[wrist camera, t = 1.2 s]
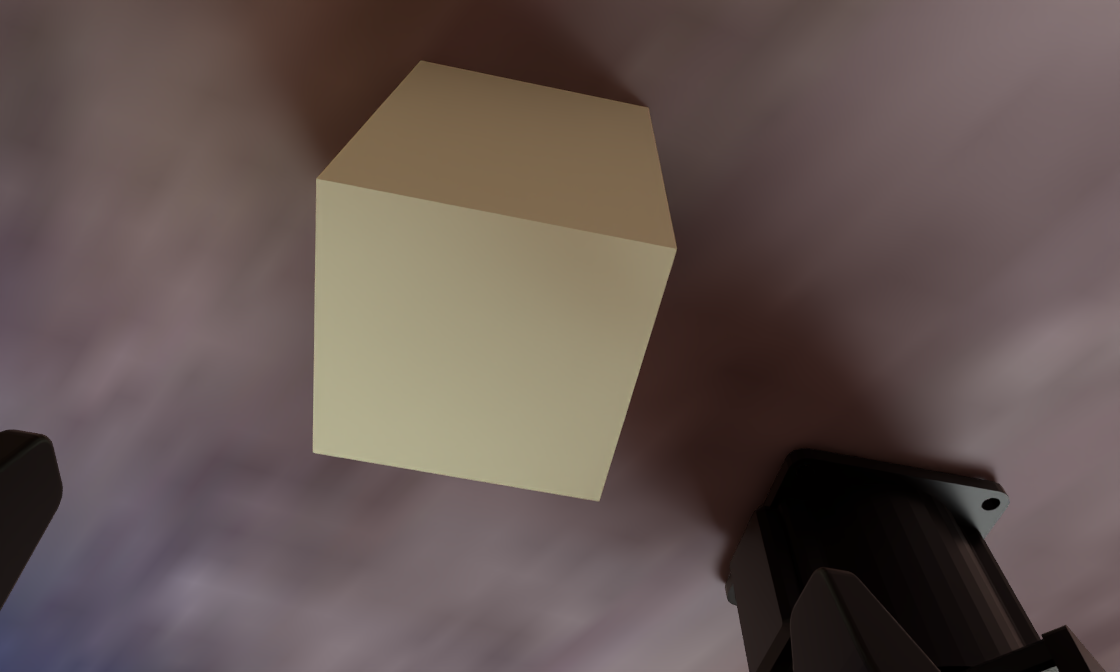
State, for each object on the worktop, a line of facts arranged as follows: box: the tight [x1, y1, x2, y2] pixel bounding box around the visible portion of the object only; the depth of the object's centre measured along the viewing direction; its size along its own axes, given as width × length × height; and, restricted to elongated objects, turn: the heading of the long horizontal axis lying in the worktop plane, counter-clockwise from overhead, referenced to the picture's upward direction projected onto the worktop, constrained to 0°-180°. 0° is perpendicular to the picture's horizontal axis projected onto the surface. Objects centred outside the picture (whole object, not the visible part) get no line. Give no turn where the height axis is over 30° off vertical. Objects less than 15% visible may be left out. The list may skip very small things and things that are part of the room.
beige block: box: [313, 61, 677, 501], centre depth 14 cm, size 5×5×7 cm
